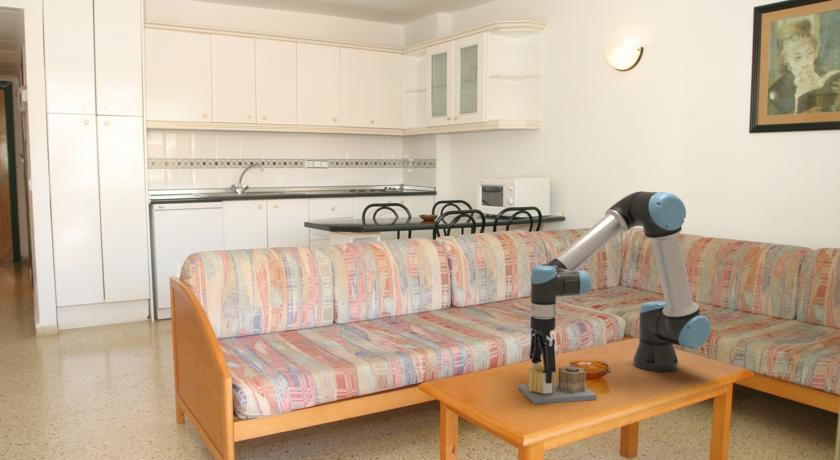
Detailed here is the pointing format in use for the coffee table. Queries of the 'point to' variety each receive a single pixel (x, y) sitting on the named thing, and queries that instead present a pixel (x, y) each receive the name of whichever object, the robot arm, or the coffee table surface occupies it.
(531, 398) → the gear board
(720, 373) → the coffee table surface
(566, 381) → the gear
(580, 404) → the coffee table surface
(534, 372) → the ochre gear
